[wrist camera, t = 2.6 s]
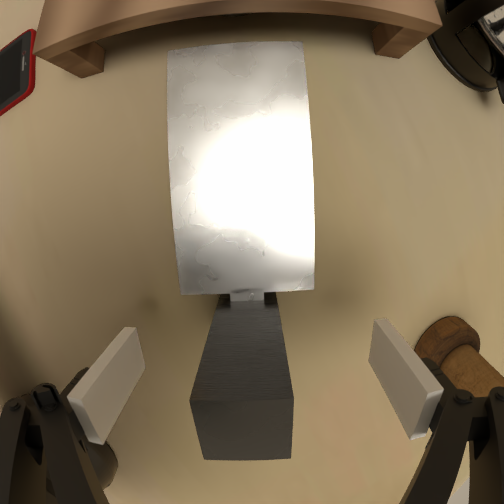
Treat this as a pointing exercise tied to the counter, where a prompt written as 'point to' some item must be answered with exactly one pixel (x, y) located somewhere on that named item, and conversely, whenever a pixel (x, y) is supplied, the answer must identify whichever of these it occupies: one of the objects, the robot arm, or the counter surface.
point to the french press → (455, 54)
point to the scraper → (242, 230)
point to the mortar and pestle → (459, 356)
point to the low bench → (207, 4)
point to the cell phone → (17, 70)
